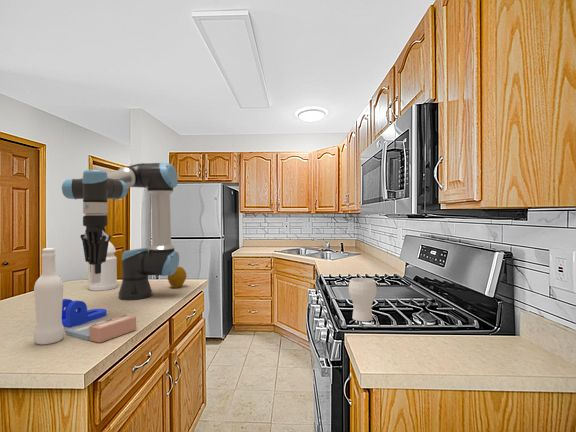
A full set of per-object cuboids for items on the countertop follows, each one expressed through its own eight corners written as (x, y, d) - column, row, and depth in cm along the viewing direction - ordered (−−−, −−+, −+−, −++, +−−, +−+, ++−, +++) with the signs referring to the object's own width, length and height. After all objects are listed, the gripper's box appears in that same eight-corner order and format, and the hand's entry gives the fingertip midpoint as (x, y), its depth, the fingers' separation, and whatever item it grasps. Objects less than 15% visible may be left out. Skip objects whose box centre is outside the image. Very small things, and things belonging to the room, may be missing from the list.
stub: (126, 327, 129) (126, 314, 129) (136, 329, 127) (135, 316, 127) (89, 340, 116) (89, 326, 116) (99, 342, 114) (99, 328, 114)
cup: (345, 315, 145) (345, 277, 145) (371, 314, 146) (371, 277, 146) (352, 323, 134) (352, 283, 134) (380, 322, 135) (380, 282, 135)
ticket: (103, 323, 135) (103, 318, 135) (125, 328, 129) (125, 323, 129) (65, 334, 122) (65, 330, 122) (88, 340, 117) (88, 335, 117)
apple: (188, 285, 203) (187, 264, 203) (183, 289, 193) (183, 267, 193) (170, 285, 202) (170, 264, 202) (165, 289, 193) (165, 267, 192)
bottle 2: (121, 288, 196) (121, 236, 195) (94, 292, 185) (93, 238, 185) (110, 284, 205) (110, 235, 204) (84, 288, 194) (83, 236, 194)
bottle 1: (41, 347, 111) (40, 250, 111) (29, 342, 115) (28, 248, 115) (69, 339, 118) (68, 247, 117) (56, 334, 122) (55, 246, 122)
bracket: (69, 328, 129) (69, 303, 129) (54, 325, 133) (53, 301, 132) (111, 314, 146) (111, 292, 146) (96, 312, 149) (96, 291, 149)
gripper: (72, 214, 125) (73, 283, 125) (97, 215, 119) (98, 286, 119) (93, 214, 131) (93, 279, 131) (117, 214, 125) (117, 282, 126)
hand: (95, 282), depth 125 cm, fingers closed
